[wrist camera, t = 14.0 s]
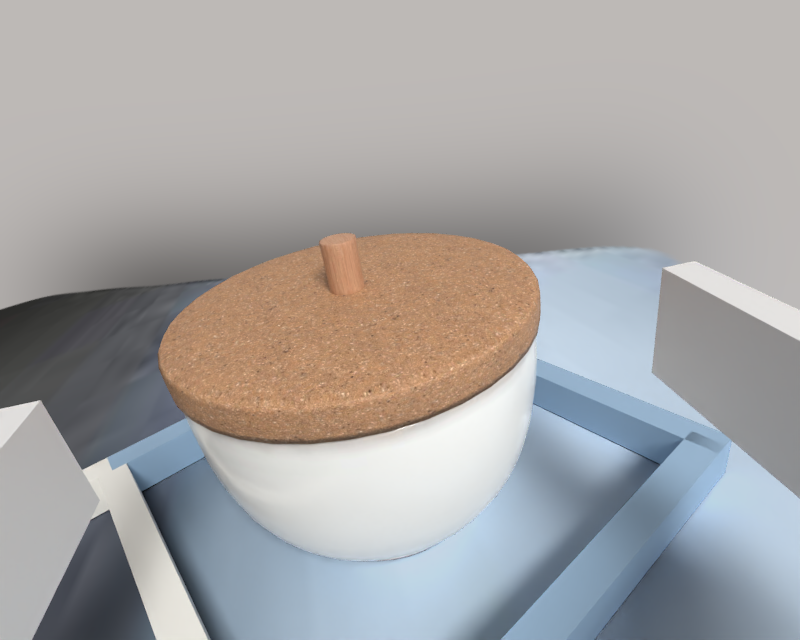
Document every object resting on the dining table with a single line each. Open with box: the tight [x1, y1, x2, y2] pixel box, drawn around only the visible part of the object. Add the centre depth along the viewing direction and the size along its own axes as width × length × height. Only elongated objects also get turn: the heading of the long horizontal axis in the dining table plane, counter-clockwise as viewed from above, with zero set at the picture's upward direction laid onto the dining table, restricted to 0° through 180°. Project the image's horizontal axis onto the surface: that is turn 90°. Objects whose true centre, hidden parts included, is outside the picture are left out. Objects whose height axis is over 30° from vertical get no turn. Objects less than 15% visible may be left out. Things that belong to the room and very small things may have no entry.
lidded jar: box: [158, 233, 540, 561], centre depth 16 cm, size 11×11×9 cm
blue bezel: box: [107, 359, 732, 640], centre depth 18 cm, size 16×16×2 cm
